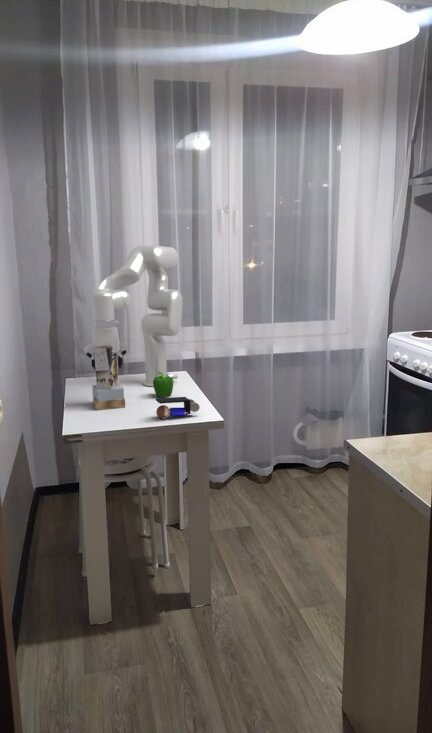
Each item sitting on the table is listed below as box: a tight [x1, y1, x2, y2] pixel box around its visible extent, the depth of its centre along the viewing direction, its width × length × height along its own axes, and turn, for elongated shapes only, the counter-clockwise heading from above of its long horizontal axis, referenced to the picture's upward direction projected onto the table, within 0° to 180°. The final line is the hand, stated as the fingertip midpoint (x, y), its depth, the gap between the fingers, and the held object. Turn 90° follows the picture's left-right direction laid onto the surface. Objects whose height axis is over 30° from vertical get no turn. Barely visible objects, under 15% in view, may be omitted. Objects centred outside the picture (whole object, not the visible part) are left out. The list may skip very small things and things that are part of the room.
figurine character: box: [155, 396, 201, 420], centre depth 210 cm, size 7×8×15 cm
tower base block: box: [92, 395, 126, 412], centre depth 227 cm, size 11×11×4 cm
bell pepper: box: [153, 372, 174, 398], centre depth 239 cm, size 8×8×10 cm
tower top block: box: [91, 384, 125, 401], centre depth 226 cm, size 10×10×4 cm
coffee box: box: [94, 347, 120, 389], centre depth 224 cm, size 9×6×16 cm
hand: (107, 368), depth 225 cm, fingers open, 9 cm apart
